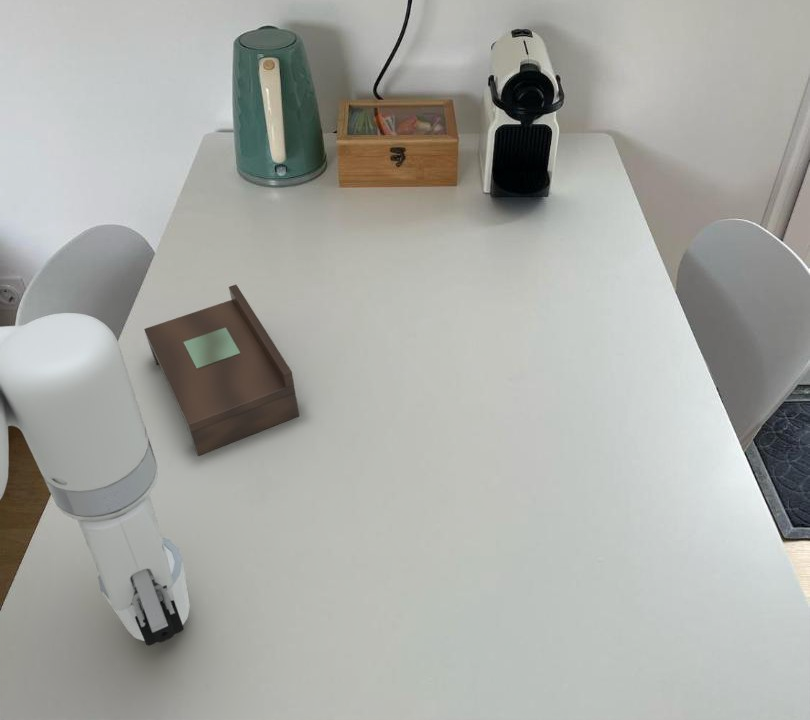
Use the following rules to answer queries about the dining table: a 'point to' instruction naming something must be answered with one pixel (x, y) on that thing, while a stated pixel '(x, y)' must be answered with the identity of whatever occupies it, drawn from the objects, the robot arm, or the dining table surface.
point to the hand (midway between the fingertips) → (152, 599)
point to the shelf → (224, 372)
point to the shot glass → (175, 592)
